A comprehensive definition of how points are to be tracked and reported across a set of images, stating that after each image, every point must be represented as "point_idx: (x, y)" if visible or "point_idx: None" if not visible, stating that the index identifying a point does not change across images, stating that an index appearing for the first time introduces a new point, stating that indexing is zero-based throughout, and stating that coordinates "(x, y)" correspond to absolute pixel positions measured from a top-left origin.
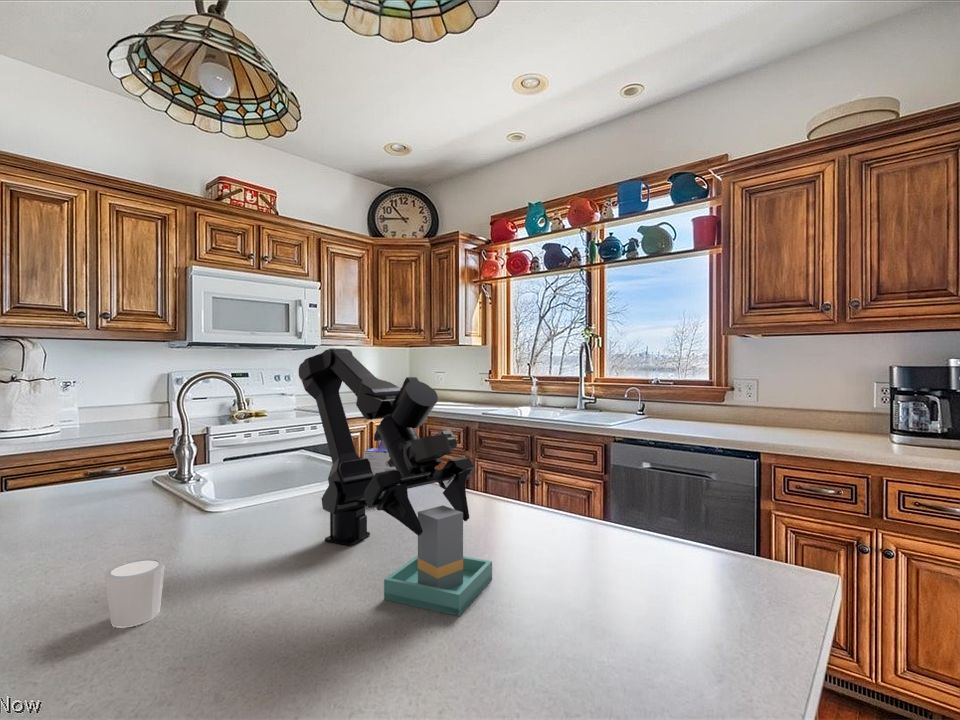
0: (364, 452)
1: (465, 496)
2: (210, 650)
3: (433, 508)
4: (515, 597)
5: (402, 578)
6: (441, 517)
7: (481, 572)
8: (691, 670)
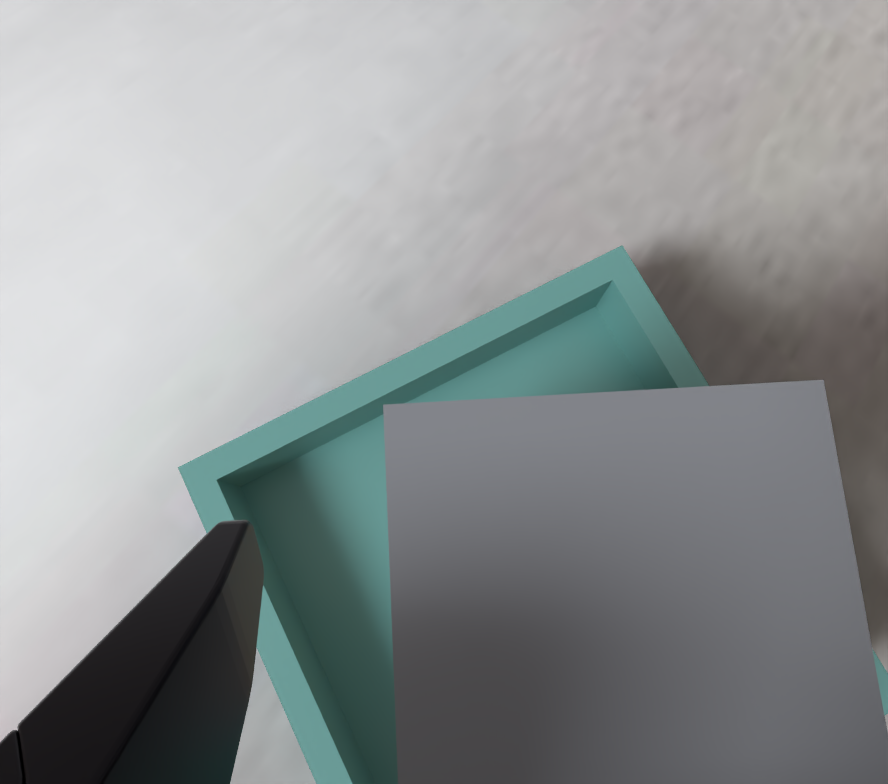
0: None
1: (17, 740)
2: None
3: None
4: (271, 258)
5: None
6: (736, 418)
7: (344, 385)
8: None
